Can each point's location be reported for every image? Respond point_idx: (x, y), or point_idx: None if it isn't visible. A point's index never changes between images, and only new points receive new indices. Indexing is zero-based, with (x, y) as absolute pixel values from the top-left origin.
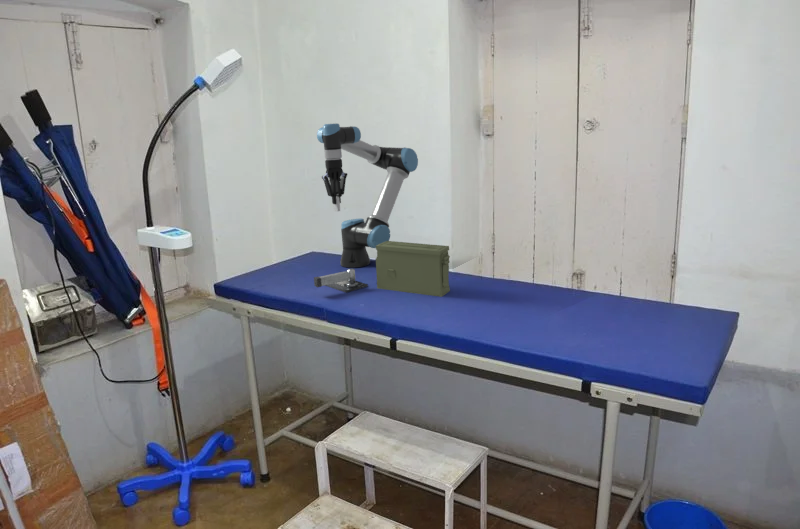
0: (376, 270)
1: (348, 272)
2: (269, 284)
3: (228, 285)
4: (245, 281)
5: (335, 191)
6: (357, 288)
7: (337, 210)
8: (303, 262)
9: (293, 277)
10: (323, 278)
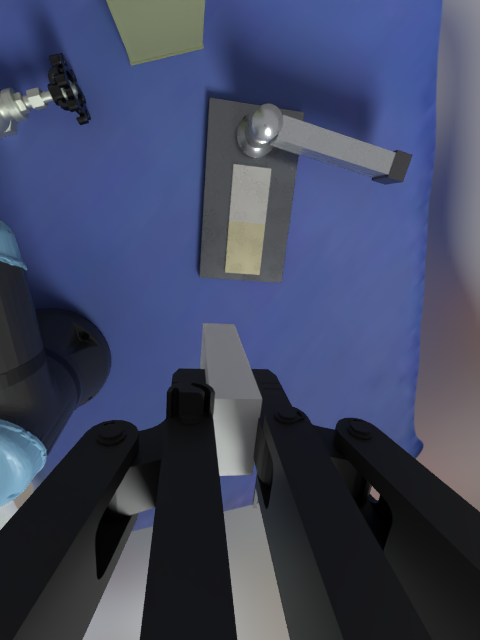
0: (204, 3)
1: (287, 116)
2: (358, 378)
3: (410, 443)
4: None
5: (302, 472)
6: (255, 106)
7: (235, 329)
8: None
9: (281, 383)
10: (384, 150)
